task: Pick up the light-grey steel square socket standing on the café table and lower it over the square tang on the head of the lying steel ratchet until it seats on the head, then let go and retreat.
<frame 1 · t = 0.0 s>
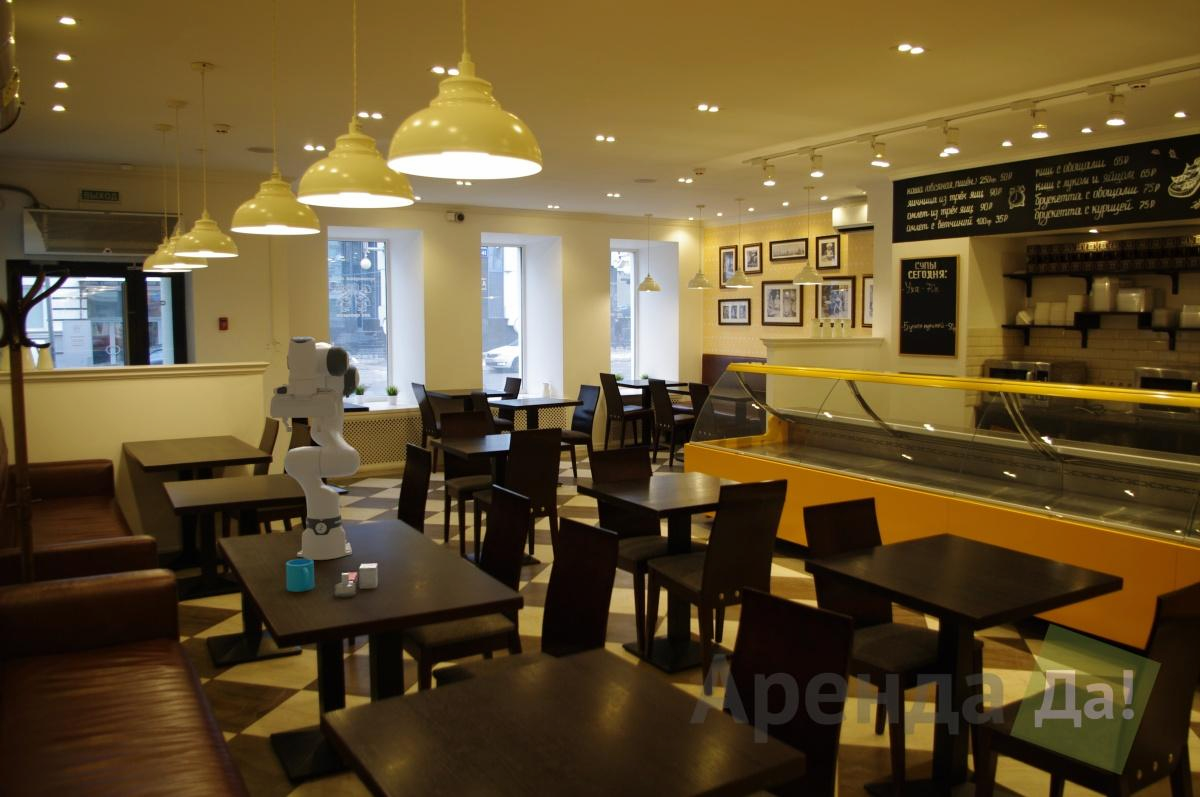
hand: (304, 431, 283), 48 cm above the table, fingers open, 8 cm apart
ratchet: (345, 594, 272), on the table
mug: (302, 590, 278), on the table
socket: (368, 586, 281), on the table
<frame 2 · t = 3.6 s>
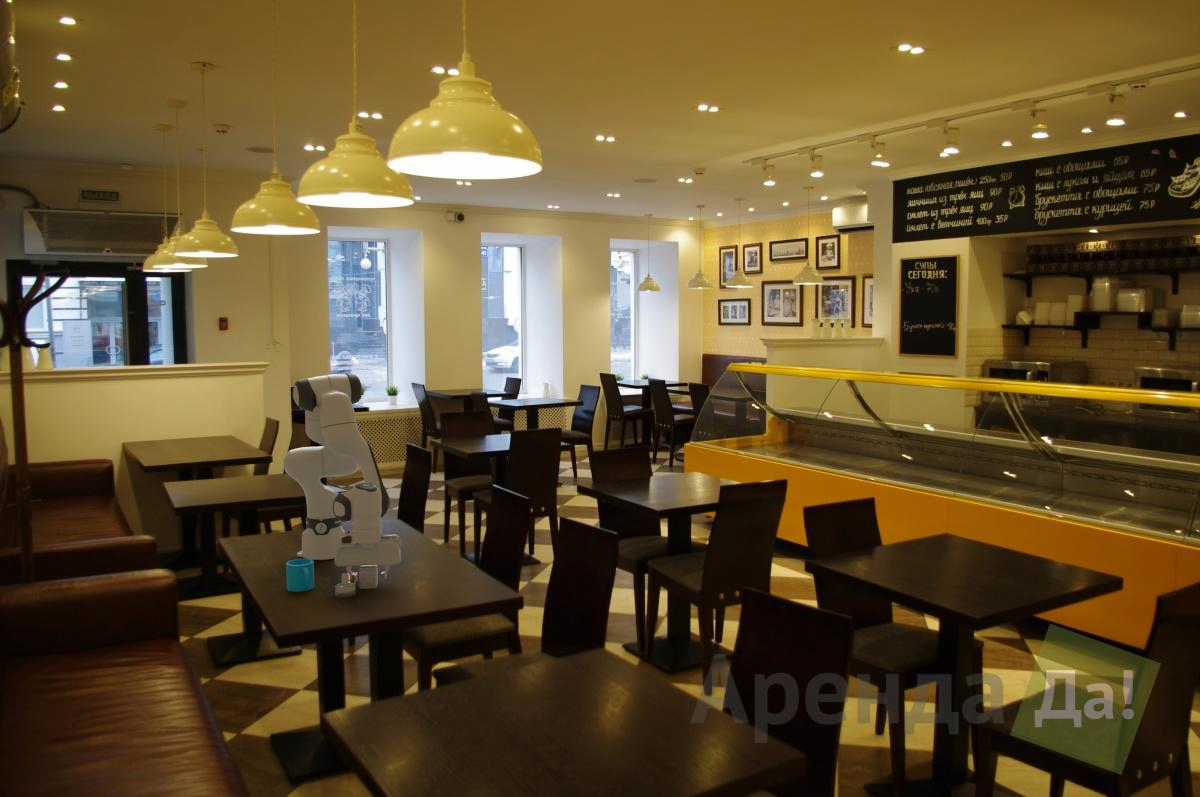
hand: (368, 578, 280), 2 cm above the table, fingers open, 8 cm apart
ratchet: (345, 594, 272), on the table, touching gripper
everything else where it was.
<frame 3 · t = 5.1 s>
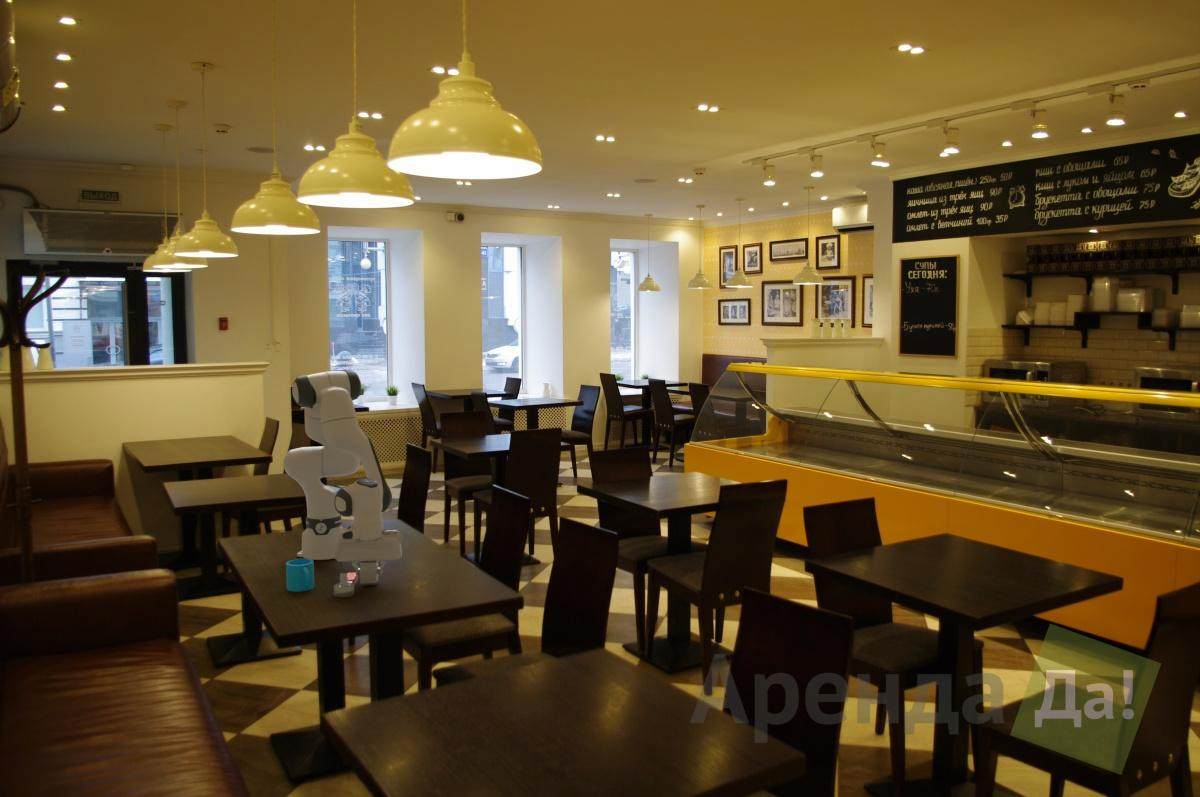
hand: (369, 573, 281), 4 cm above the table, fingers closed on socket, 5 cm apart
ratchet: (344, 594, 272), on the table
socket: (369, 580, 282), point 1 cm above the table, touching gripper
everything else where it was.
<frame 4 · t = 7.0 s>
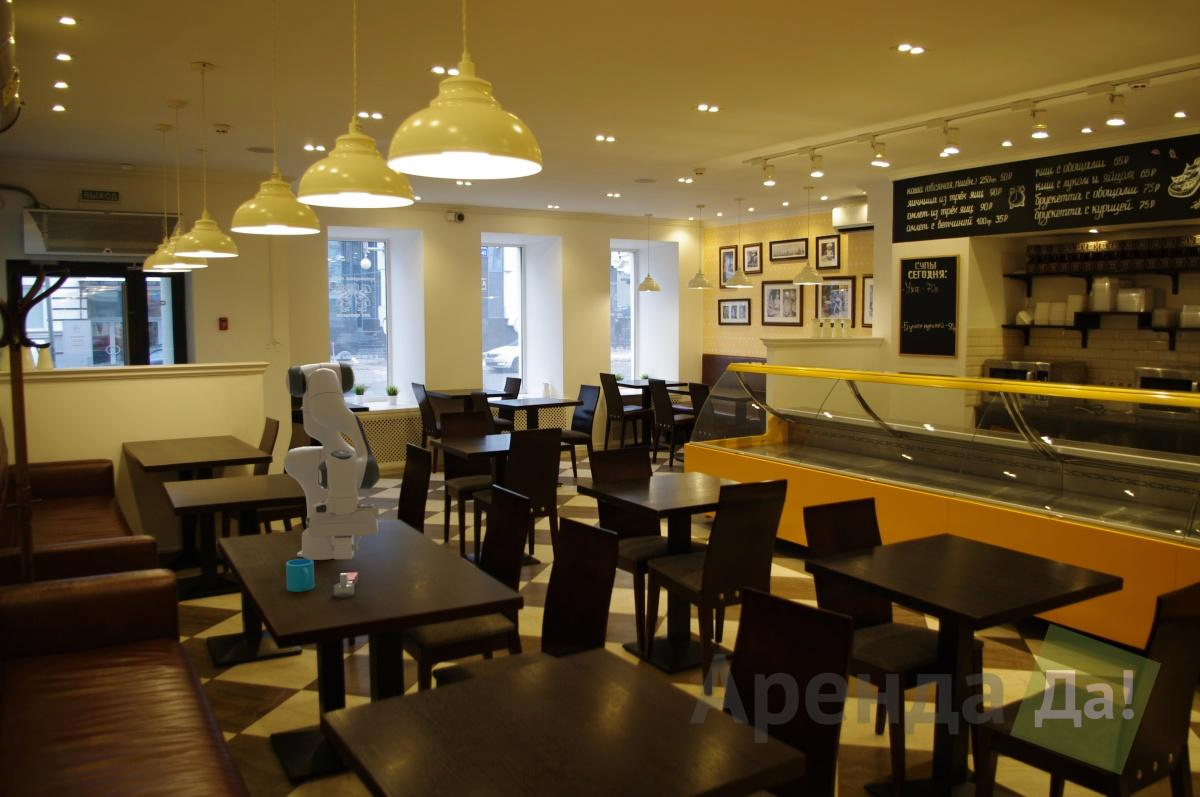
hand: (344, 550, 271), 14 cm above the table, fingers closed on socket, 5 cm apart
socket: (344, 557, 271), point 12 cm above the table, touching gripper
everything else where it was.
when the fingers open (6 cm above the table, at t = 9.0 s): socket stays where it is, resting on ratchet.
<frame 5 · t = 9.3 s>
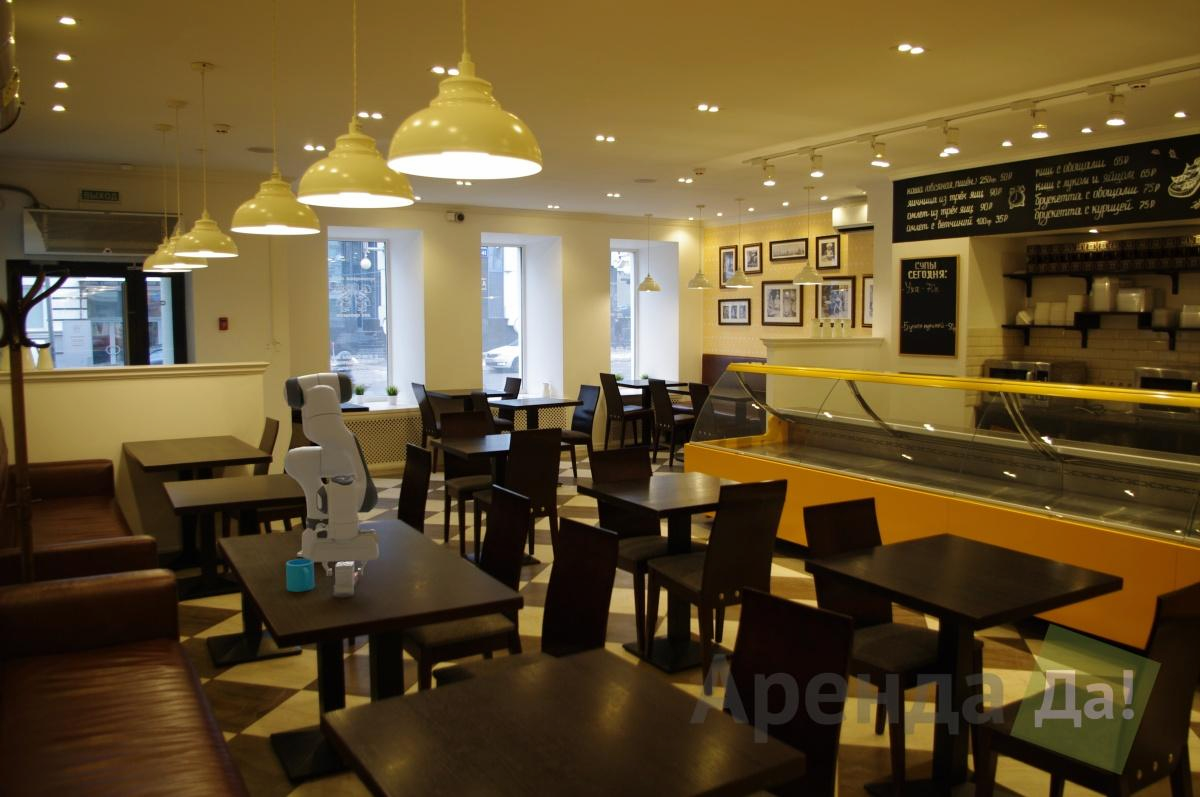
hand: (344, 574, 272), 6 cm above the table, fingers open, 8 cm apart
ratchet: (344, 594, 272), on the table, touching socket
socket: (345, 584, 272), point 3 cm above the table, touching ratchet
everything else where it was.
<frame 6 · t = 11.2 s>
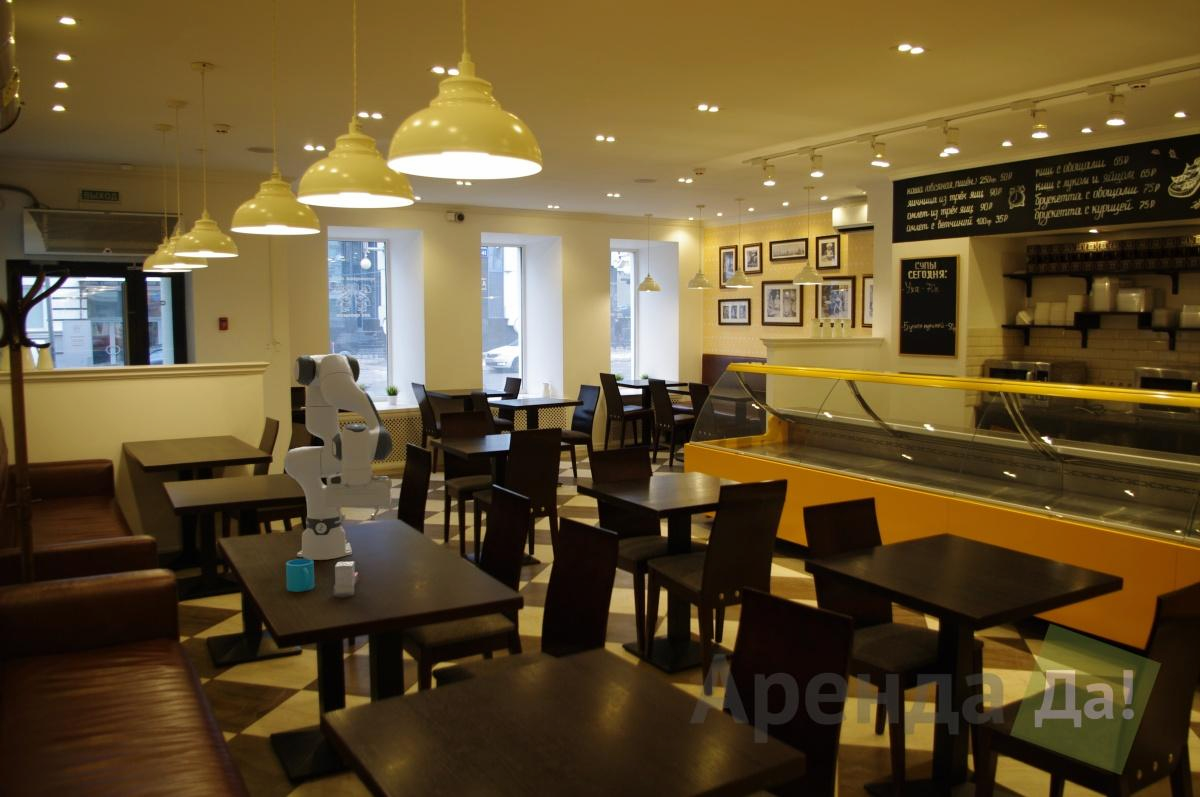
hand: (358, 520, 277), 21 cm above the table, fingers open, 8 cm apart
nothing on the table moved.
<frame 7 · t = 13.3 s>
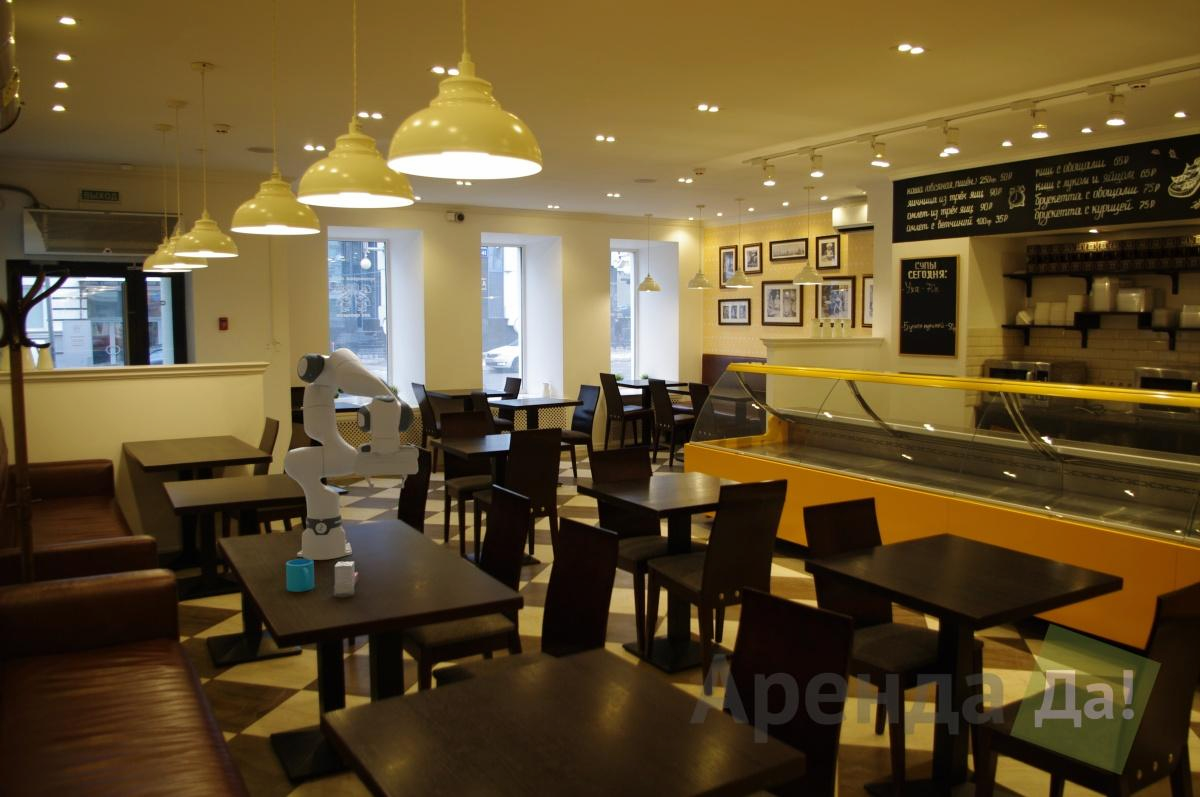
hand: (386, 488, 289), 29 cm above the table, fingers open, 8 cm apart
nothing on the table moved.
at the end: socket 0.5 cm from the ratchet (horizontally); socket point 2.9 cm above the table; socket tilted 0° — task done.
